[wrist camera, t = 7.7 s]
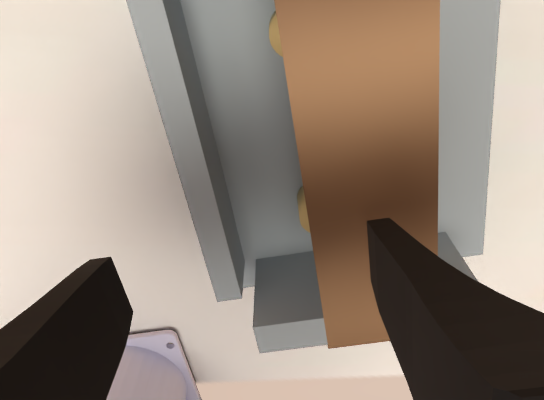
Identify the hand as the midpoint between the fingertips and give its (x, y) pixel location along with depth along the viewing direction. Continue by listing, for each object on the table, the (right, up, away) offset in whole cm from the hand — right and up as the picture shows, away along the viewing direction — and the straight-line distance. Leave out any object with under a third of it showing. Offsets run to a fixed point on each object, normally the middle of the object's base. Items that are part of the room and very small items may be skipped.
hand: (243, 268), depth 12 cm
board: (+4, +5, +6) cm, 8 cm away
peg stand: (+4, +6, +8) cm, 11 cm away
